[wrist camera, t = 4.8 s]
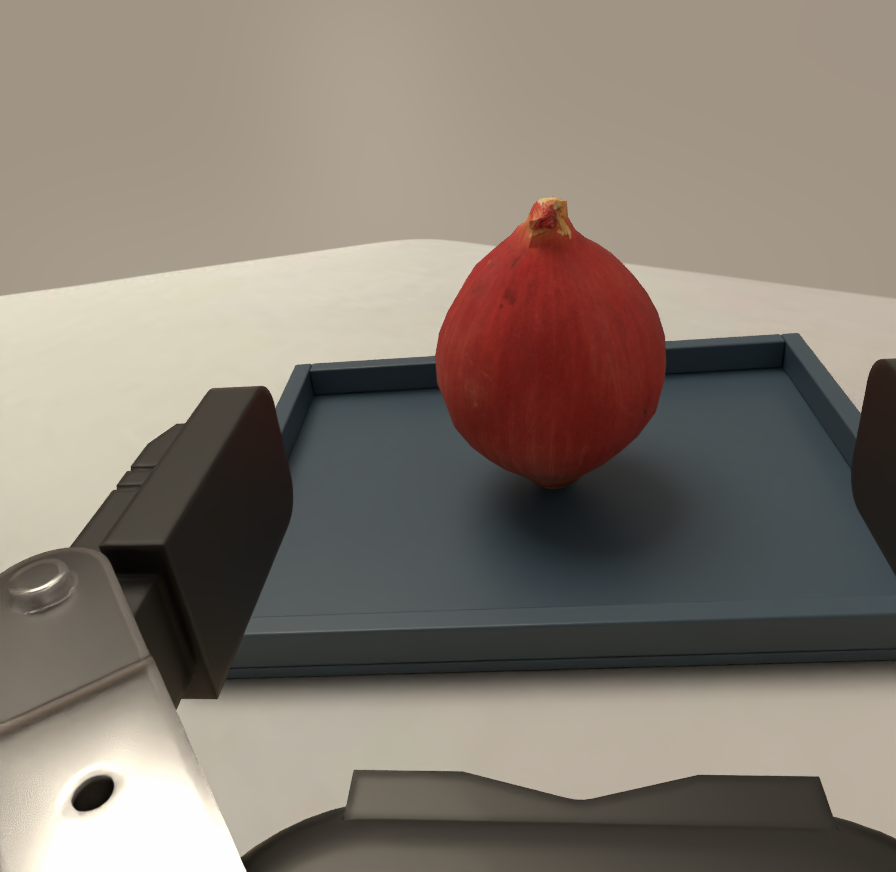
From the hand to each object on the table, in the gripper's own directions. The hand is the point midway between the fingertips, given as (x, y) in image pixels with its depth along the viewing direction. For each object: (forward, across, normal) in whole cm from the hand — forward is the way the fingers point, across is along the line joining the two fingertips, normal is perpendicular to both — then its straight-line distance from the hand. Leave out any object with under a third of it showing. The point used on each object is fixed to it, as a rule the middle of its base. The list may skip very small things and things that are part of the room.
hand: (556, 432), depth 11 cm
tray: (+9, 0, +8) cm, 12 cm away
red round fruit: (+9, 0, +7) cm, 12 cm away
